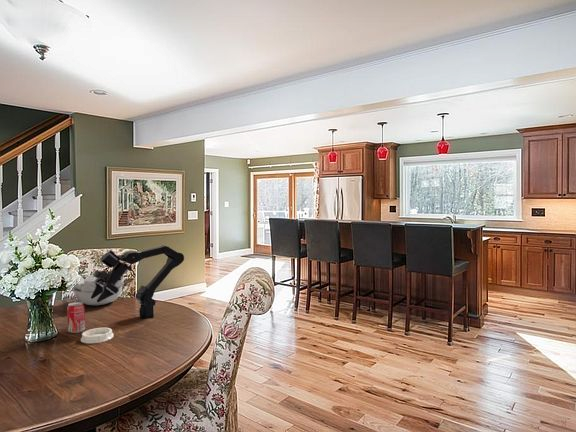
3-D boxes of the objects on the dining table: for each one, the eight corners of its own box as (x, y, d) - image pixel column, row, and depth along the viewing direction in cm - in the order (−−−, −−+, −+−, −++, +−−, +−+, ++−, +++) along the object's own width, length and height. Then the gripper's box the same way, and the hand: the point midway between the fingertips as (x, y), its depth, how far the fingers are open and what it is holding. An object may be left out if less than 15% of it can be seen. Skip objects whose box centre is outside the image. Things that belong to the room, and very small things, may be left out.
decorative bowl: (72, 300, 243) (71, 275, 242) (125, 295, 253) (124, 272, 253) (63, 313, 215) (62, 285, 214) (123, 307, 225) (123, 281, 224)
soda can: (88, 328, 189) (87, 301, 188) (79, 334, 182) (78, 305, 181) (74, 328, 190) (73, 301, 189) (64, 333, 183) (63, 305, 182)
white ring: (115, 332, 184) (115, 326, 184) (111, 341, 172) (111, 335, 172) (84, 334, 181) (84, 328, 181) (77, 344, 168) (77, 338, 168)
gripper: (97, 261, 200) (75, 287, 194) (110, 266, 186) (86, 294, 180) (115, 274, 206) (93, 299, 200) (128, 279, 192) (105, 307, 186)
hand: (94, 300), depth 191 cm, fingers open, 9 cm apart
